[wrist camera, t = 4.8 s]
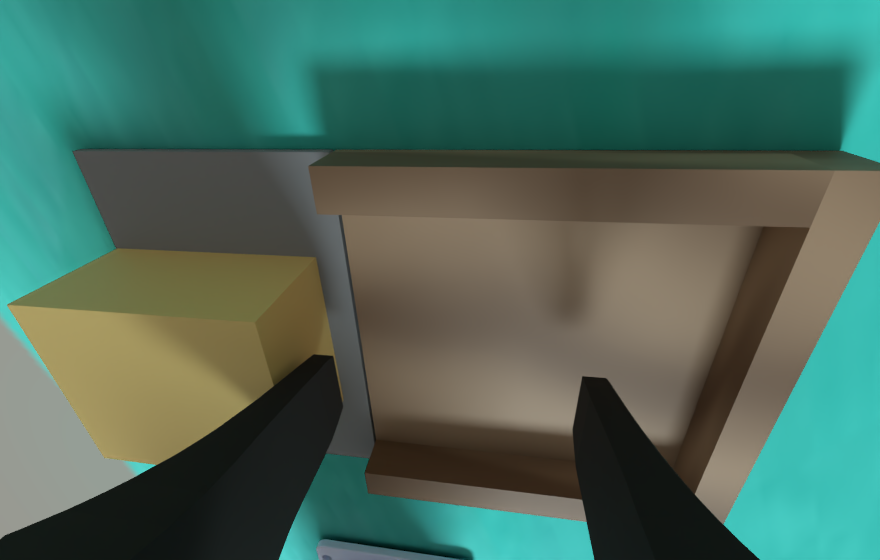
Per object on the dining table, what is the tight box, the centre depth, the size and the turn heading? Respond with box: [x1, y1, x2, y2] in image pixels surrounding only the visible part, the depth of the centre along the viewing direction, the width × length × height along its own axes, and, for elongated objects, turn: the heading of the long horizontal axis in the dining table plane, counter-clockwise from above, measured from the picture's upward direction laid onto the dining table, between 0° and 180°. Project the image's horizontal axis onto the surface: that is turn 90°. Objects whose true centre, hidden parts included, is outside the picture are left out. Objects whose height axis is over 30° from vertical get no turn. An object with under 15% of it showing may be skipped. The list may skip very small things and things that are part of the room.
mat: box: [72, 149, 376, 458], centre depth 15 cm, size 12×8×1 cm, turn 2°
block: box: [7, 248, 344, 465], centre depth 13 cm, size 6×7×4 cm
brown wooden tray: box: [308, 150, 880, 524], centre depth 13 cm, size 12×12×2 cm
